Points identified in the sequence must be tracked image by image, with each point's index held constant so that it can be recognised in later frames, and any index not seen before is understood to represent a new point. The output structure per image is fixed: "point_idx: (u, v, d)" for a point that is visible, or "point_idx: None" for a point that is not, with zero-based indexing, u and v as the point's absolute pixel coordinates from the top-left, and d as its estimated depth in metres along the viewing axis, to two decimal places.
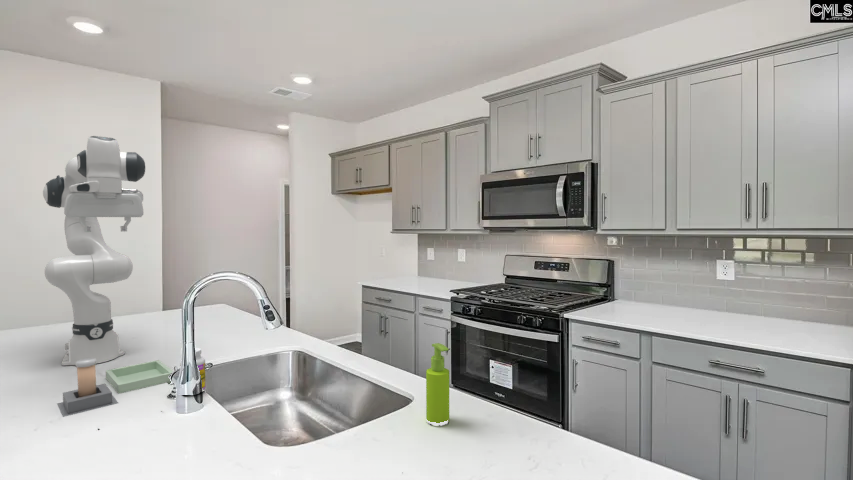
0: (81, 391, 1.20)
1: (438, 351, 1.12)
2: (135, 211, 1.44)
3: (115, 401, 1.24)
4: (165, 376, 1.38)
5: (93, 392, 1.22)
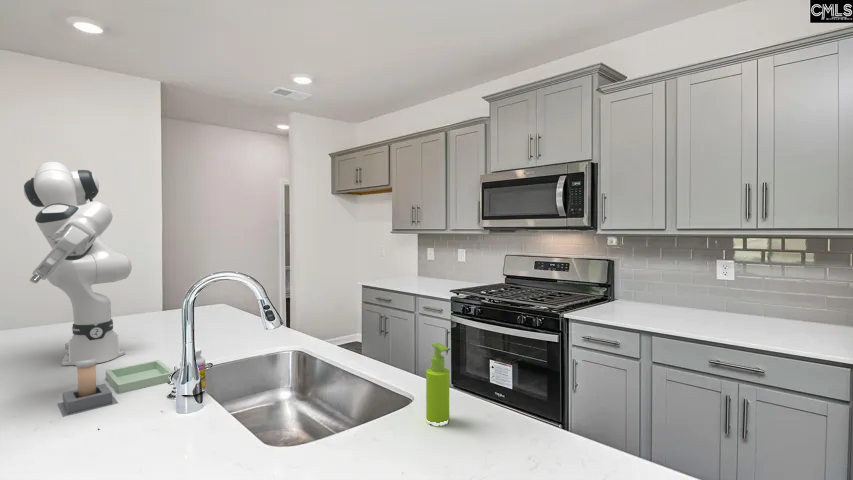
0: (81, 391, 1.20)
1: (438, 351, 1.12)
2: None
3: (115, 401, 1.24)
4: (165, 376, 1.38)
5: (93, 392, 1.22)
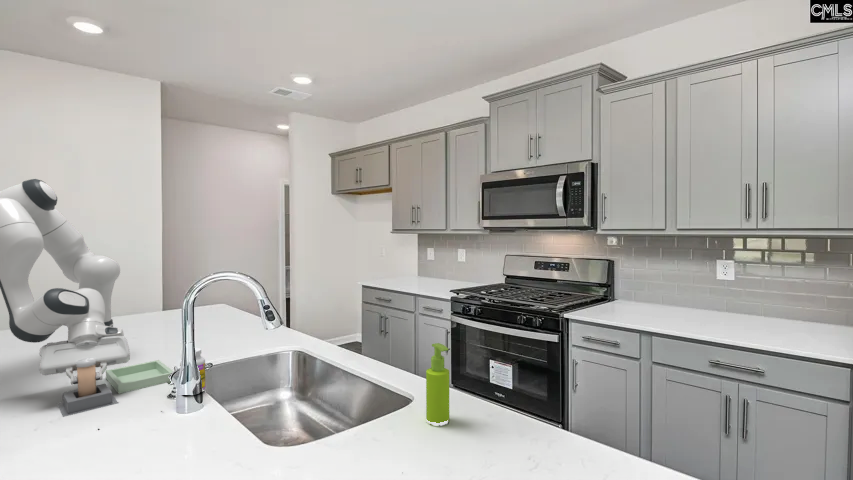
0: (81, 391, 1.20)
1: (438, 351, 1.12)
2: None
3: (115, 401, 1.24)
4: (165, 376, 1.38)
5: (93, 392, 1.22)
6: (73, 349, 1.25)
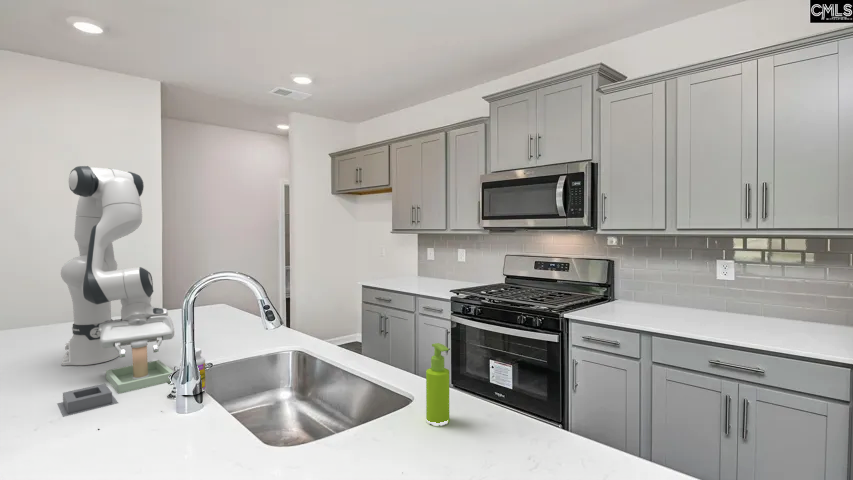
0: (136, 368, 1.39)
1: (438, 351, 1.12)
2: None
3: (115, 401, 1.24)
4: (165, 376, 1.38)
5: (146, 369, 1.41)
6: (127, 326, 1.43)
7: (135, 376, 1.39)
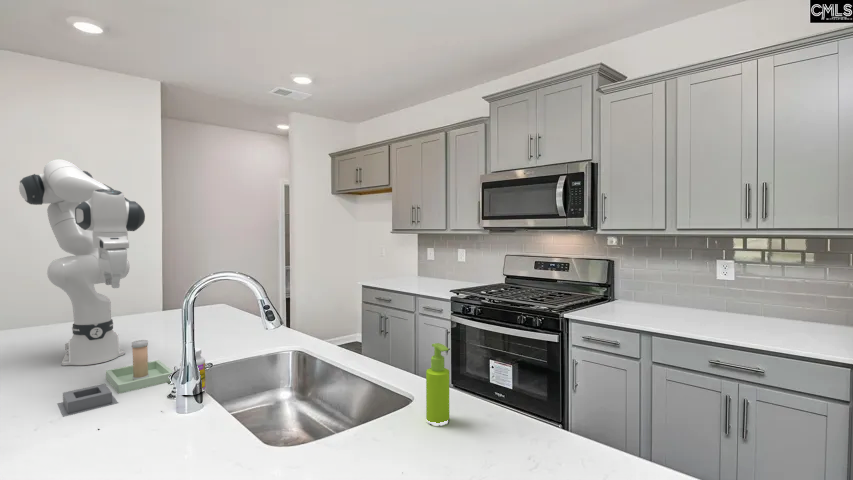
0: (136, 368, 1.39)
1: (438, 351, 1.12)
2: None
3: (115, 401, 1.24)
4: (165, 376, 1.38)
5: (146, 369, 1.41)
6: (103, 254, 1.38)
7: (135, 376, 1.39)
